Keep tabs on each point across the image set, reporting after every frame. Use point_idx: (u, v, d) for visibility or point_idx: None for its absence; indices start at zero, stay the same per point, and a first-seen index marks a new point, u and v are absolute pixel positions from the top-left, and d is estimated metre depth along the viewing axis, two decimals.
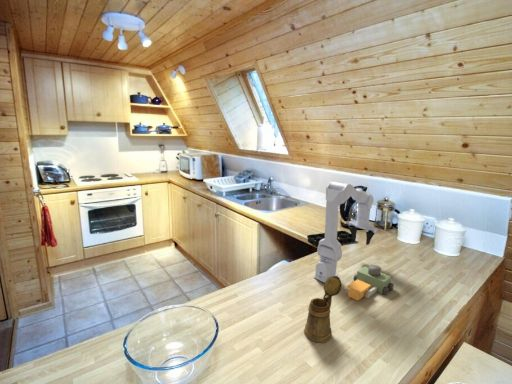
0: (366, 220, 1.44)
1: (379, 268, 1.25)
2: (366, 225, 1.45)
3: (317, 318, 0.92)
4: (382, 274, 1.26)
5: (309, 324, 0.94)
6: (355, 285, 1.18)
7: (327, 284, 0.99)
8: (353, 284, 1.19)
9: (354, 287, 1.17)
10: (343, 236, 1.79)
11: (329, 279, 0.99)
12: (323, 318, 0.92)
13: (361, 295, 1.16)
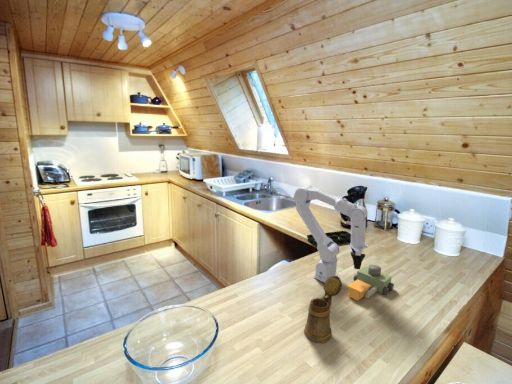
0: (354, 238, 1.21)
1: (379, 268, 1.25)
2: (355, 245, 1.21)
3: (317, 318, 0.92)
4: (382, 274, 1.26)
5: (309, 324, 0.94)
6: (355, 285, 1.18)
7: (327, 284, 0.99)
8: (353, 284, 1.19)
9: (354, 287, 1.17)
10: (343, 236, 1.79)
11: (329, 279, 0.99)
12: (323, 318, 0.92)
13: (361, 295, 1.16)
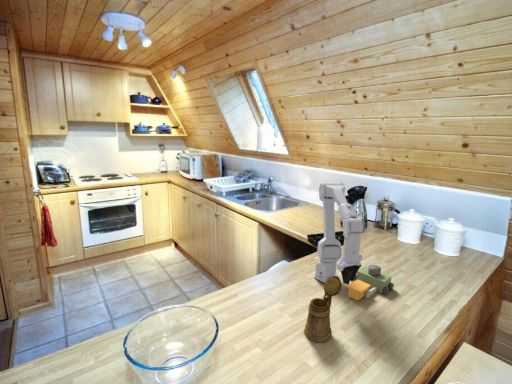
0: (344, 252, 1.08)
1: (379, 268, 1.25)
2: (344, 259, 1.08)
3: (317, 318, 0.92)
4: (382, 274, 1.26)
5: (309, 324, 0.94)
6: (355, 285, 1.18)
7: (327, 284, 0.99)
8: (353, 284, 1.19)
9: (354, 287, 1.17)
10: (343, 236, 1.79)
11: (329, 279, 0.99)
12: (323, 318, 0.92)
13: (361, 295, 1.16)
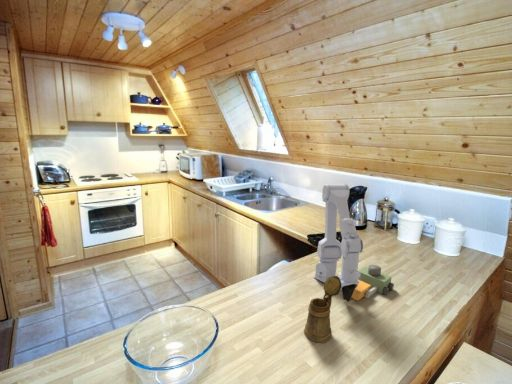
0: (342, 271, 1.10)
1: (379, 268, 1.25)
2: (342, 277, 1.10)
3: (317, 318, 0.92)
4: (382, 274, 1.26)
5: (309, 324, 0.94)
6: None
7: (327, 284, 0.99)
8: None
9: None
10: None
11: (329, 279, 0.99)
12: (323, 318, 0.92)
13: (361, 295, 1.16)
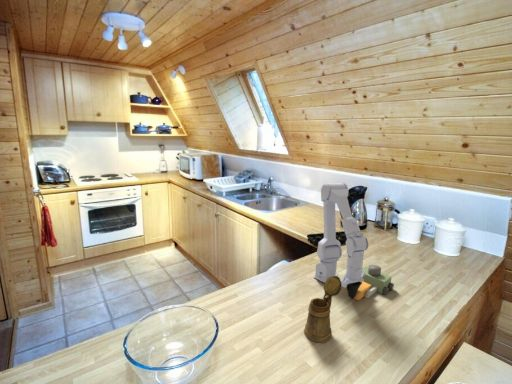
0: (347, 268, 1.12)
1: (379, 268, 1.25)
2: (347, 275, 1.12)
3: (317, 318, 0.92)
4: (382, 274, 1.26)
5: (309, 324, 0.94)
6: None
7: (327, 284, 0.99)
8: None
9: None
10: (344, 237, 1.78)
11: (329, 279, 0.99)
12: (323, 318, 0.92)
13: (361, 295, 1.16)
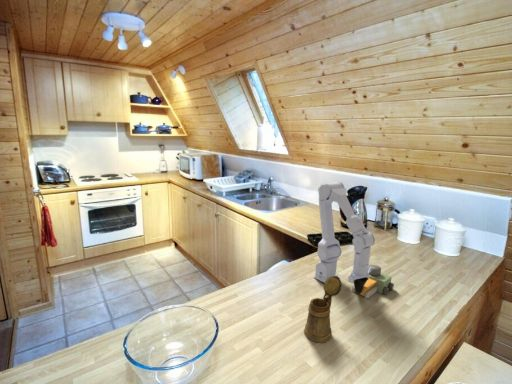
0: (354, 265, 1.15)
1: (379, 268, 1.25)
2: (354, 271, 1.16)
3: (317, 318, 0.92)
4: (382, 274, 1.26)
5: (309, 324, 0.94)
6: None
7: (327, 284, 0.99)
8: None
9: None
10: (344, 237, 1.78)
11: (329, 279, 0.99)
12: (323, 318, 0.92)
13: (367, 291, 1.19)
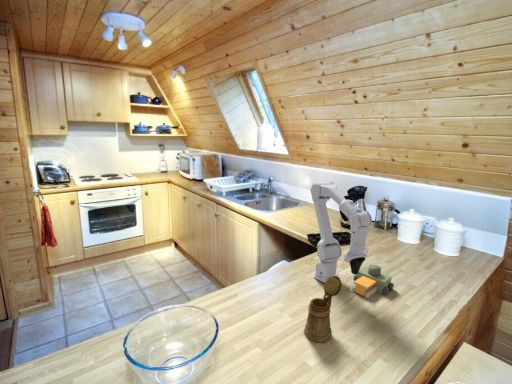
0: (351, 244, 1.13)
1: (379, 268, 1.25)
2: (351, 251, 1.14)
3: (317, 318, 0.92)
4: (382, 274, 1.26)
5: (309, 324, 0.94)
6: (361, 281, 1.21)
7: (327, 284, 0.99)
8: (359, 280, 1.22)
9: (360, 283, 1.20)
10: (344, 237, 1.78)
11: (329, 279, 0.99)
12: (323, 318, 0.92)
13: (367, 291, 1.19)
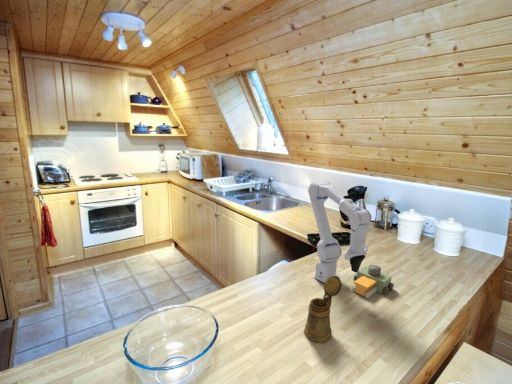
0: (351, 242, 1.14)
1: (379, 268, 1.25)
2: (351, 249, 1.15)
3: (317, 318, 0.92)
4: (382, 274, 1.26)
5: (309, 324, 0.94)
6: (361, 281, 1.21)
7: (327, 284, 0.99)
8: (359, 280, 1.22)
9: (360, 283, 1.20)
10: (344, 237, 1.77)
11: (329, 279, 0.99)
12: (323, 318, 0.92)
13: (367, 291, 1.19)
